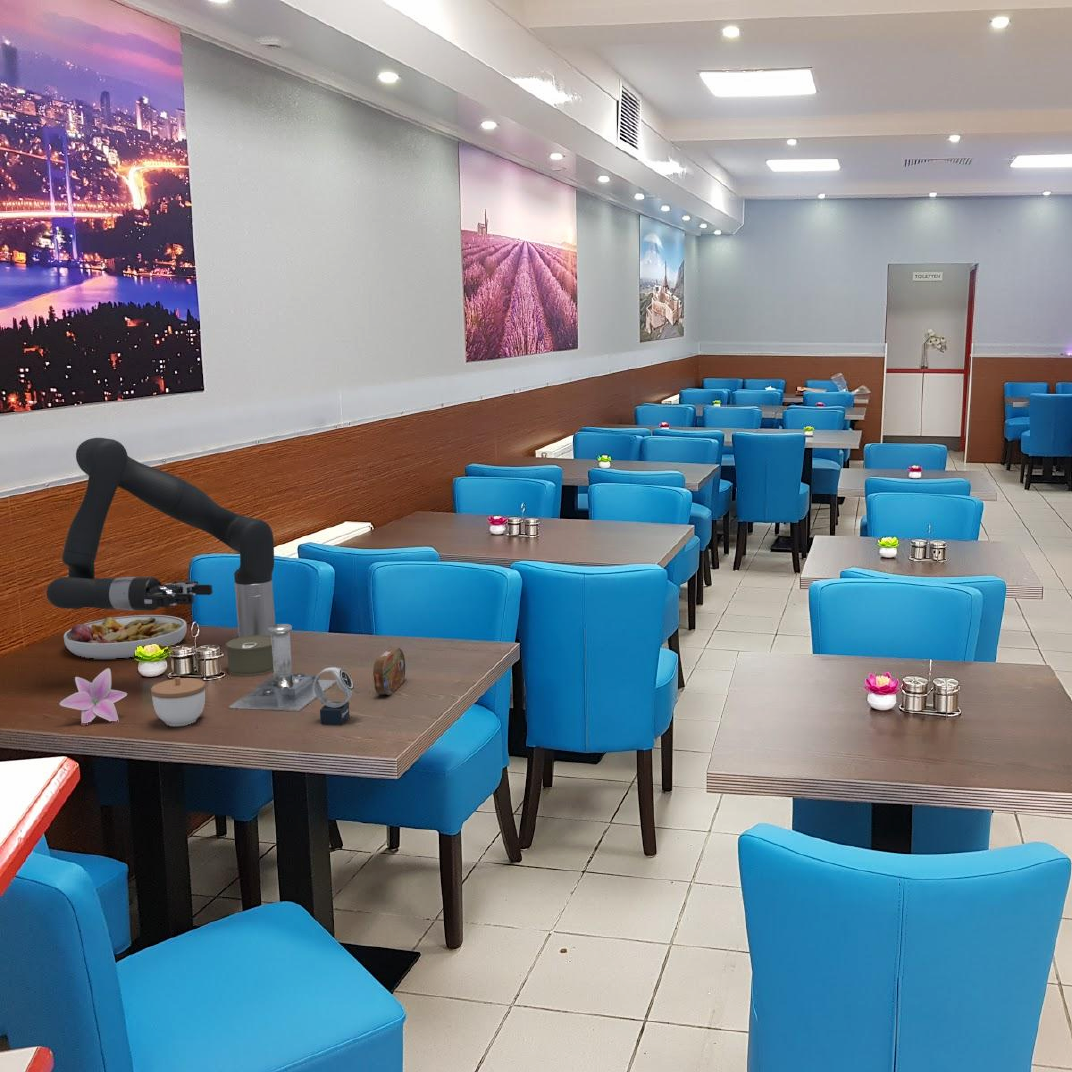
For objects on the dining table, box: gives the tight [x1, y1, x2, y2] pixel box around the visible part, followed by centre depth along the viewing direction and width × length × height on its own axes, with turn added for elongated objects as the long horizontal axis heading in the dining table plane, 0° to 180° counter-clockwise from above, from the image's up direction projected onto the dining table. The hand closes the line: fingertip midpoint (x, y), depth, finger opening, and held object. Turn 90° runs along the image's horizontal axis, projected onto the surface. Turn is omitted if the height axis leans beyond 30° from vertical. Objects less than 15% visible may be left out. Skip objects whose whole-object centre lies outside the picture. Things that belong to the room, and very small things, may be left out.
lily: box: [59, 667, 128, 724], centre depth 245 cm, size 12×12×10 cm
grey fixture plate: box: [228, 672, 337, 712], centre depth 258 cm, size 21×16×3 cm
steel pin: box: [268, 623, 293, 687], centre depth 257 cm, size 5×5×15 cm
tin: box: [372, 647, 406, 696], centre depth 260 cm, size 15×3×8 cm, turn 168°
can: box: [225, 635, 274, 677], centre depth 278 cm, size 12×12×7 cm
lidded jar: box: [150, 676, 206, 727], centre depth 241 cm, size 11×11×9 cm
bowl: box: [63, 614, 188, 660], centre depth 303 cm, size 30×30×8 cm
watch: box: [313, 666, 355, 726], centre depth 239 cm, size 6×8×11 cm
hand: (202, 594), depth 258 cm, fingers open, 8 cm apart
